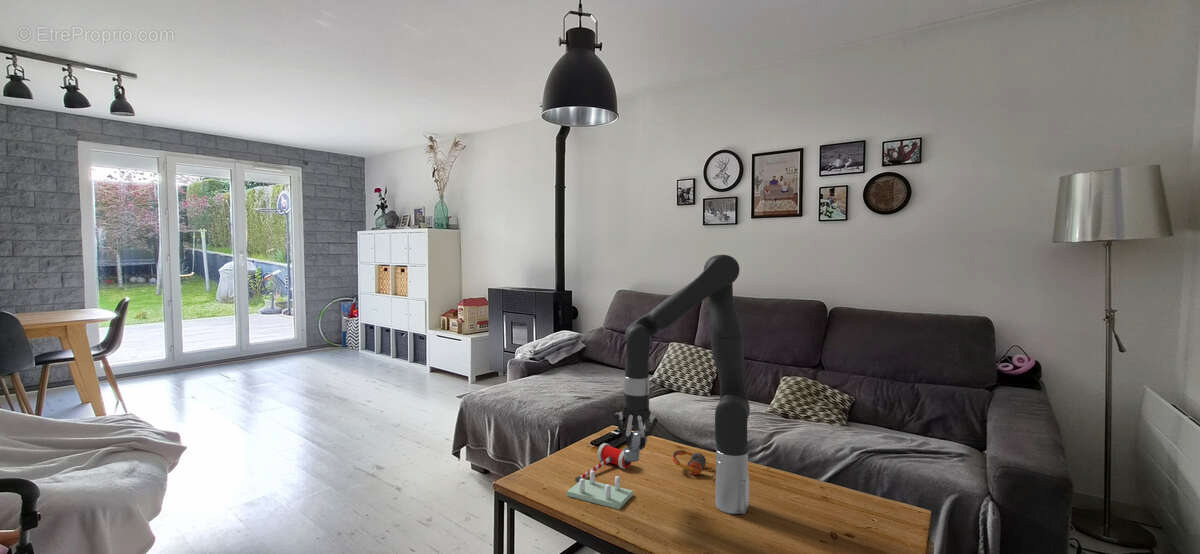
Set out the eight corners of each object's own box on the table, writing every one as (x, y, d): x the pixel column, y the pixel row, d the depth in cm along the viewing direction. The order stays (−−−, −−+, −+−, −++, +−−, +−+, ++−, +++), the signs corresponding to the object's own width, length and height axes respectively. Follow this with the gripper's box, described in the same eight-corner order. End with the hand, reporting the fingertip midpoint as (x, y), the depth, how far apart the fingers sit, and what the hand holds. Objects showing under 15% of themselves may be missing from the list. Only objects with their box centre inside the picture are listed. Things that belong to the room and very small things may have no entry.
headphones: (730, 473, 182) (677, 452, 189) (734, 459, 182) (680, 439, 189) (723, 494, 167) (665, 470, 174) (727, 479, 166) (669, 456, 173)
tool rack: (632, 495, 160) (632, 477, 160) (619, 509, 152) (619, 491, 151) (582, 483, 169) (582, 466, 169) (567, 496, 160) (566, 478, 160)
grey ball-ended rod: (634, 437, 163) (634, 429, 163) (648, 439, 162) (648, 431, 162) (622, 460, 145) (622, 451, 145) (637, 462, 144) (638, 453, 144)
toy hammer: (590, 488, 166) (590, 469, 165) (564, 478, 173) (564, 459, 173) (633, 466, 183) (633, 448, 183) (607, 457, 191) (607, 440, 190)
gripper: (661, 389, 154) (660, 445, 155) (616, 386, 158) (615, 441, 159) (658, 396, 147) (657, 455, 148) (610, 392, 151) (610, 450, 152)
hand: (635, 447), depth 153 cm, fingers closed on grey ball-ended rod, 3 cm apart
